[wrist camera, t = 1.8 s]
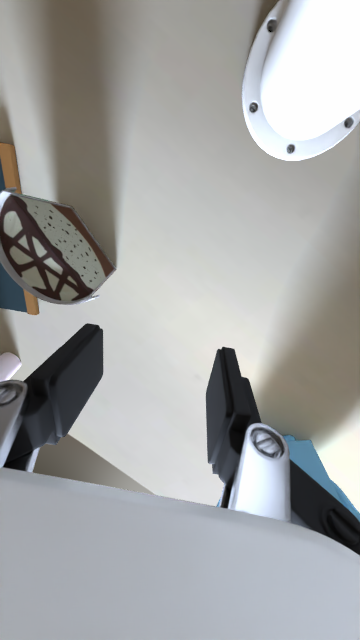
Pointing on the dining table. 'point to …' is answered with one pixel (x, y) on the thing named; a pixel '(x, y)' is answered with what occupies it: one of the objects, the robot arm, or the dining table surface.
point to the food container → (50, 250)
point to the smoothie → (8, 365)
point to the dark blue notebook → (3, 288)
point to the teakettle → (315, 469)
